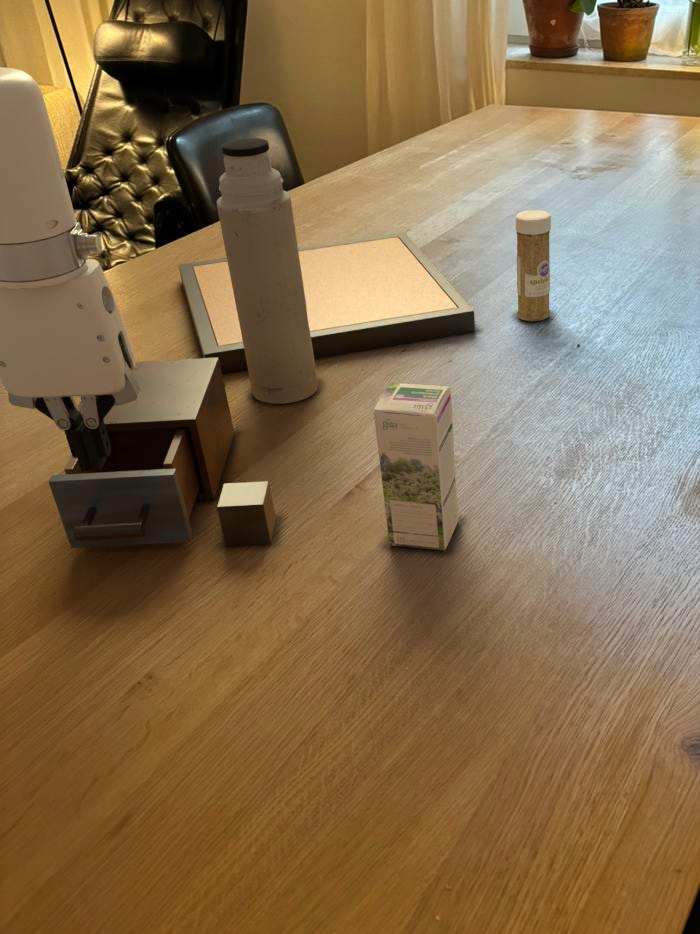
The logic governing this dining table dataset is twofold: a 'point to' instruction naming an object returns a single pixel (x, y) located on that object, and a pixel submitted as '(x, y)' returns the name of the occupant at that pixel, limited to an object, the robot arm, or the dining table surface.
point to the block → (246, 513)
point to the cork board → (338, 299)
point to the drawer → (132, 491)
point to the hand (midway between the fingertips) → (95, 462)
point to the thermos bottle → (265, 274)
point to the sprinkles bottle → (533, 264)
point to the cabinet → (182, 410)
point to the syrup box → (417, 464)
